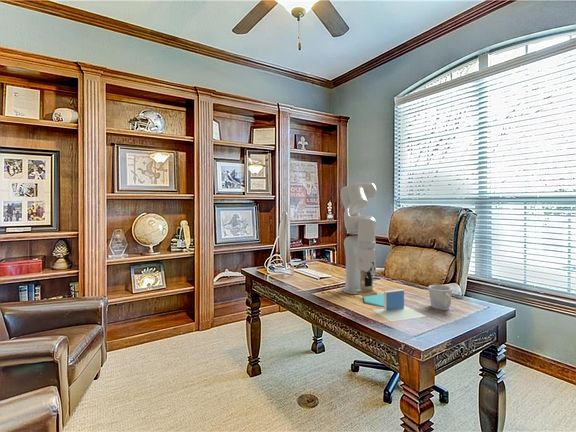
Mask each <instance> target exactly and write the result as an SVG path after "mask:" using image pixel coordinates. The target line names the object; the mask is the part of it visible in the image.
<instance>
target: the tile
mask: <svg viewBox="0 0 576 432" xmlns="http://www.w3.org/2000/svg"><path fill="white" fill-rule="evenodd" d="M383 294H384V307H383V309H384V311H392V310H400V309H404V306H405V289H403V288H402V289H393V290H384V291H383Z"/></svg>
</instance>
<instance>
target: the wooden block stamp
mask: <svg viewBox="0 0 576 432" xmlns="http://www.w3.org/2000/svg"><path fill="white" fill-rule="evenodd" d="M368 273H370V272H368ZM365 278H366V272H365V271H362V270H360V290H356V293H358V294H357V295H360V296H361V297H365V296H373V295H377V293H378V292H377V291H376V290H374V286H373V285H374V276H373V277H372V286H368V287H366V286H365Z"/></svg>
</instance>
